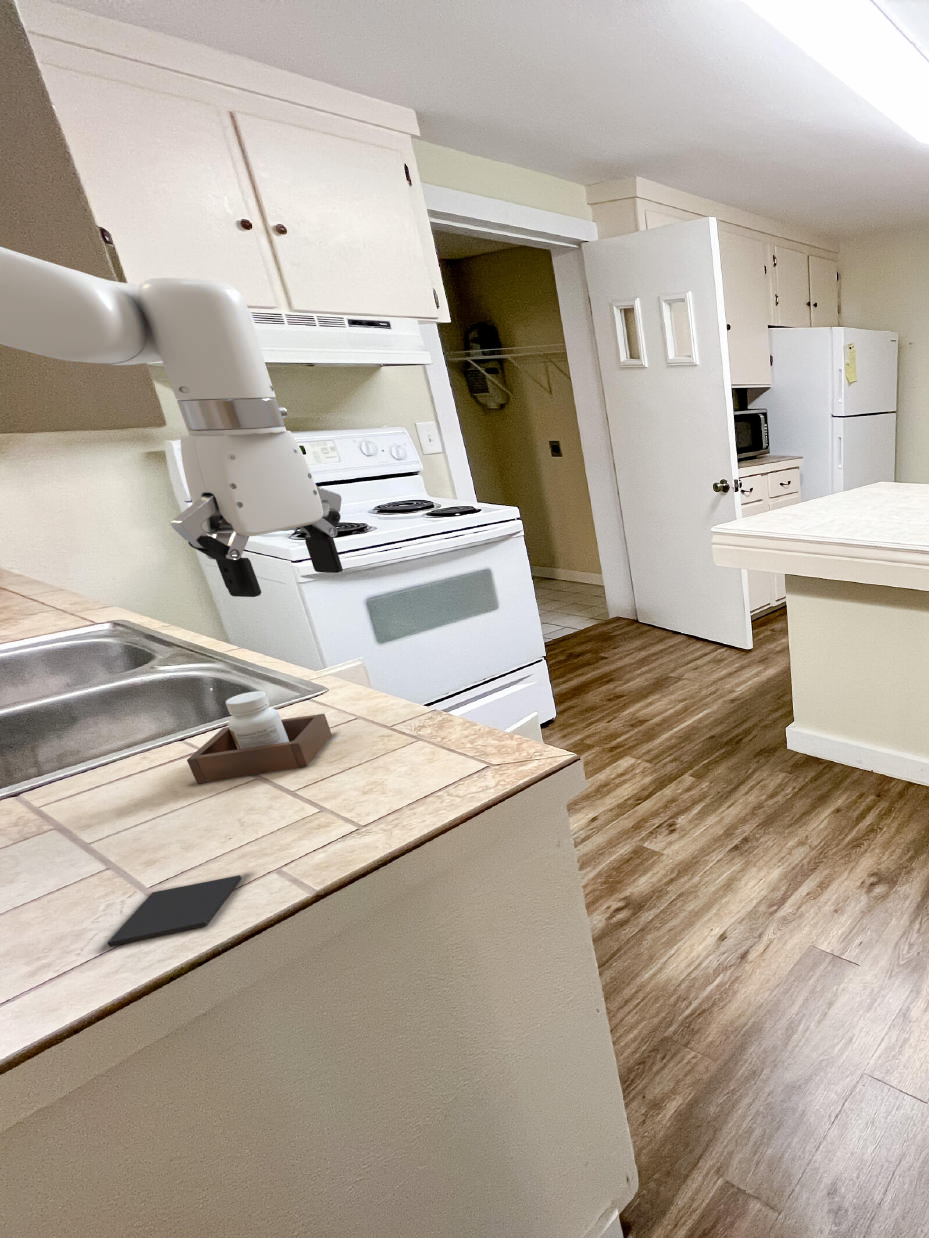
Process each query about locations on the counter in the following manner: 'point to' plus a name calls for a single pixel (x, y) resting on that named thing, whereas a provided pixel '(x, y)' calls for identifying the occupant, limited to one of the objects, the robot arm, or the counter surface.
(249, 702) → the pill bottle
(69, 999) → the counter surface
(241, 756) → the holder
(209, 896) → the coaster
